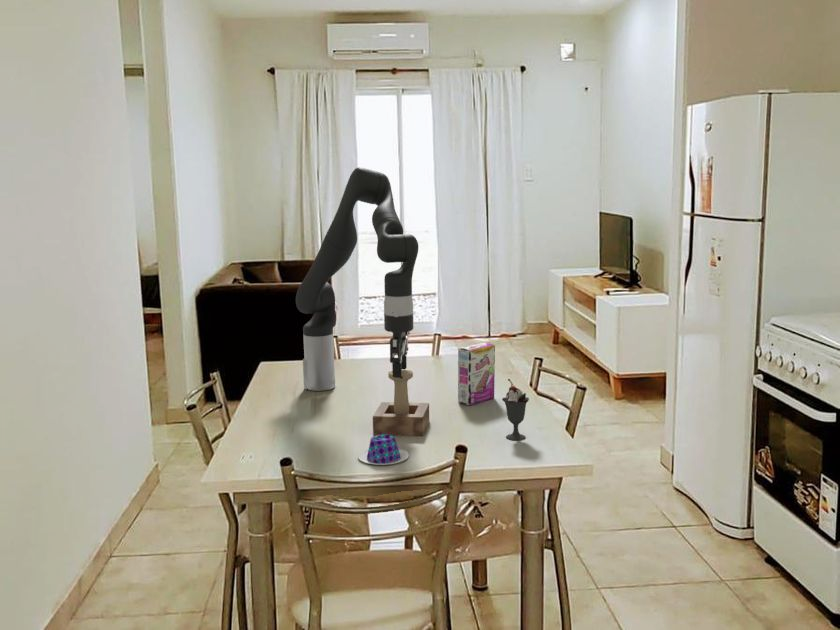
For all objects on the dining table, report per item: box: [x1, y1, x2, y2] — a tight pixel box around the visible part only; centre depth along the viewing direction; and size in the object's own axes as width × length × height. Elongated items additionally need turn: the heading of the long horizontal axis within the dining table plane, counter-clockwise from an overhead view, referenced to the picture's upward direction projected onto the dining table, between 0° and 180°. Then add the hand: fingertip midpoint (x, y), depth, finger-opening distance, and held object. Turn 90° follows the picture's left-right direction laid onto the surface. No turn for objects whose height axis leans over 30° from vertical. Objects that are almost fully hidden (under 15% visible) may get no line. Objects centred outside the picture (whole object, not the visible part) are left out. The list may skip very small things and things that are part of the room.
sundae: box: [501, 378, 530, 442], centre depth 212 cm, size 7×7×15 cm
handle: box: [387, 369, 414, 414], centre depth 222 cm, size 5×6×15 cm
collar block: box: [372, 401, 430, 437], centre depth 222 cm, size 13×13×5 cm
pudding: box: [357, 434, 409, 466], centre depth 200 cm, size 12×12×5 cm
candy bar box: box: [457, 342, 496, 406], centre depth 245 cm, size 11×5×16 cm, turn 135°
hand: (399, 373), depth 220 cm, fingers open, 8 cm apart
